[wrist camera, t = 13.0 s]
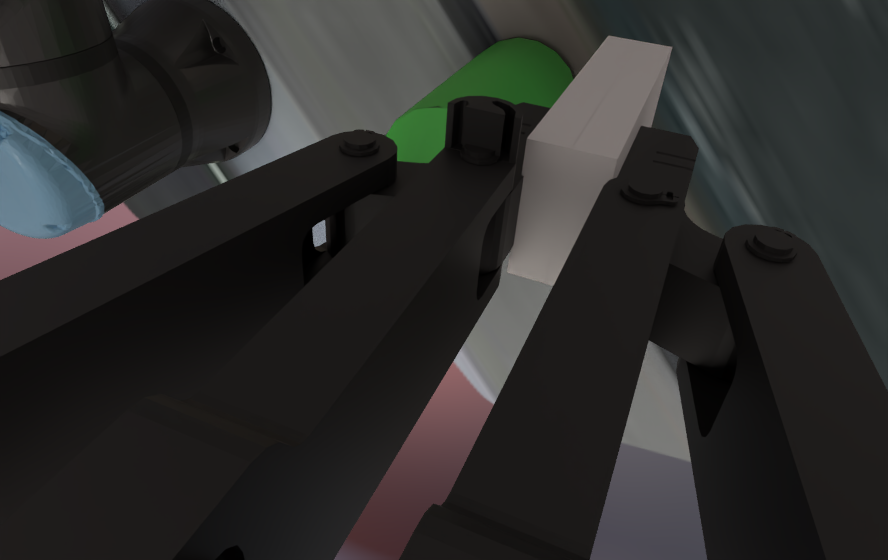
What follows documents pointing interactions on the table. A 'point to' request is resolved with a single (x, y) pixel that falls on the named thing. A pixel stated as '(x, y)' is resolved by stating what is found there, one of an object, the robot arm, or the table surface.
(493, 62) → the bottle
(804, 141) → the table surface
